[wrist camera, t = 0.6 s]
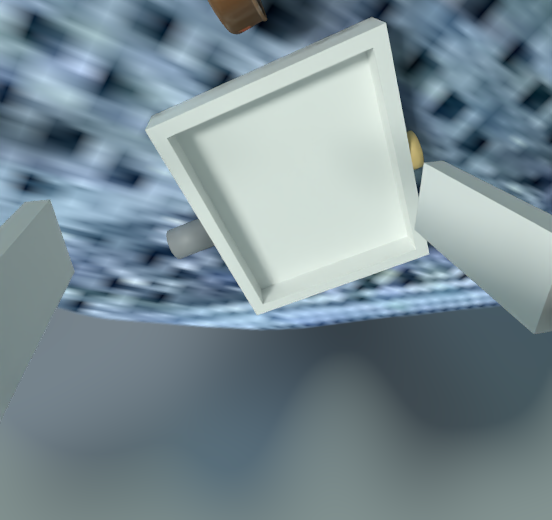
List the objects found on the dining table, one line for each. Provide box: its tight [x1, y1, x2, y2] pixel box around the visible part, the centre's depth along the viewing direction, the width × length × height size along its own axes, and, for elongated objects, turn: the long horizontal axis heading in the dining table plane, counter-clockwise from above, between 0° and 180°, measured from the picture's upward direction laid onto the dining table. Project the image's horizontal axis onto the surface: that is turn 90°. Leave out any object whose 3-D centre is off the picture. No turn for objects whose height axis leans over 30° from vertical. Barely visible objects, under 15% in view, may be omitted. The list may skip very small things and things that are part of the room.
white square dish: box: [145, 17, 429, 315], centre depth 38 cm, size 24×22×4 cm
